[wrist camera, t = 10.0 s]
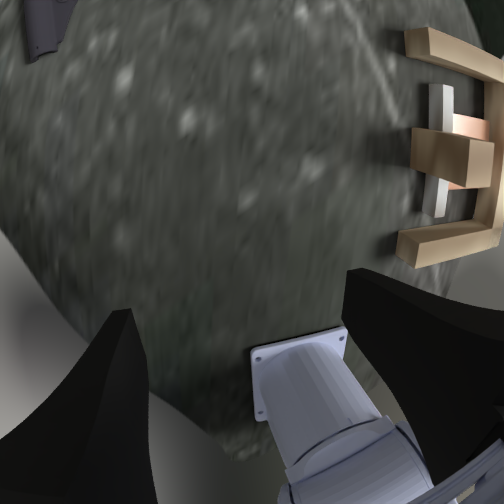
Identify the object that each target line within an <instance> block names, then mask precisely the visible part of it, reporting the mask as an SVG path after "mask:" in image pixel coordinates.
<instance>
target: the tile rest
mask: <svg viewBox="0 0 504 504" xmlns="http://www.w3.org/2000/svg"><path fill="white" fill-rule="evenodd" d="M404 38H405V52H406V57H409V58H413V59H417V60H421V61H424V62H428V63H431V64H435V65H438V66H441V67H444V68H448V69H451V70H454V71H457V72H460V73H462V74H465V75H468V76H471V77H474V78H476V79H479V80H481V81H484V120H487V121H490V125H489V142H492V143H495V144H494V156H493V166H492V175H491V183H490V187H484V188H478V194H477V200H476V207H475V213H474V218H473V219H471V220H464V221H458V222H452V223H445V224H439V225H433V226H426V227H420V228H413V229H407V230H401V231H399V232H398V239H397V246H396V253H395V255H396V256H398V257H399V258H401V259H402V260H403V261H405V262H406V263H407V264H409V265H410V266H412V267H413V268H414V269H416V268H420V267H424V266H428V265H432V264H436V263H439V262H443V261H447V260H451V259H454V258H458V257H462V256H465V255H469V254H472V253H476V252H479V251H483V250H486V249H489V248H493V247H496V246H498V244H499V239H500V235H501V230H502V226H503V221H504V61H502V60H500V59H498V58H497V57H495V56H493V55H491V54H489V53H487V52H485V51H483V50H481V49H479V48H477V47H475V46H473V45H470V44H468V43H466V42H464V41H462V40H459V39H457V38H455V37H452V36H450V35H448V34H445V33H443V32H440V31H438V30H435V29H432V28H430V27H424V28H418V29H412V30H407V31H404Z"/></svg>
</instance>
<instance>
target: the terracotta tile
mask: <svg viewBox="0 0 504 504" xmlns="http://www.w3.org/2000/svg"><path fill="white" fill-rule="evenodd" d="M489 125H490V121H487V120H482V119H478V118H473V117H468V116H464V115H459V114H453V133H455V134H459V135H464V136H468V137H473V138H477V139H481V140H485V141H489ZM479 188H484V187H479ZM449 189H467V188H464V187H462V186H459V185H456V184H454V183H451V182H449V185H448V190H449Z"/></svg>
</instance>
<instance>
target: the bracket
mask: <svg viewBox="0 0 504 504" xmlns="http://www.w3.org/2000/svg"><path fill="white" fill-rule="evenodd" d="M77 1H78V0H24V13H25V24H26V33H27V41H28V48H29V55H30V61H31V62H32V63H34V62H36V61H37V60H38V56H39V55H41V54H43V53H46V52H53V53H54V52H57V51H58V50H57V44H59V43H61V42H62V41H63V38H64V35H65V31H66V28H67V25H68V22H69V19H70V16H71V14H72V11H73V9H74V7H75V5H76V3H77Z"/></svg>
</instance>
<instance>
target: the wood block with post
mask: <svg viewBox="0 0 504 504" xmlns="http://www.w3.org/2000/svg"><path fill="white" fill-rule="evenodd" d="M494 144H495V143H492V142H489V141H485V140H481V139H477V138H473V137H468V136H464V135H459V134H455V133H453V87H451V86H447V85H444V84H429V129H424V128H414V127H412V137H411V158H410V168H412V169H415V170H418V171H421V172H424V173H426V178H425V188H424V197H423V206H422V212H424V213H426V214H428V215H430V216H432V217H434V218H437V217H444V215H445V208H446V201H447V193H448V185H449V182H451V183H454V184H456V185H459V186H462V187H464V188H479V187H490V183H491V175H492V166H493V156H494Z"/></svg>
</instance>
